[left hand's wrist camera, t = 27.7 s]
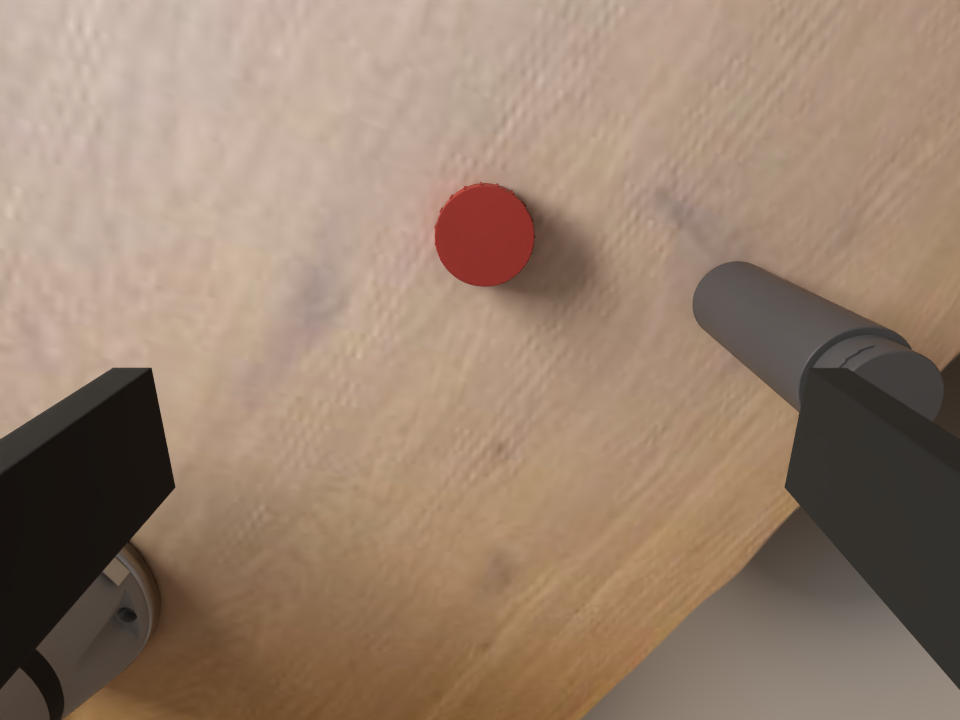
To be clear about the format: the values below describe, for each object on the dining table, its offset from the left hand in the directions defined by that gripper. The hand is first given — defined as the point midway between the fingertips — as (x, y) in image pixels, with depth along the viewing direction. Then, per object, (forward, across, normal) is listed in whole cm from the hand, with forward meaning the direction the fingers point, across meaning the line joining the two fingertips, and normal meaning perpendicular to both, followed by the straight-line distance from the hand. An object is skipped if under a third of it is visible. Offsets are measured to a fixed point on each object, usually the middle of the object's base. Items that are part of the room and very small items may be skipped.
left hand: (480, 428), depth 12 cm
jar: (+26, +16, -4) cm, 31 cm away
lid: (+24, 0, 0) cm, 24 cm away
